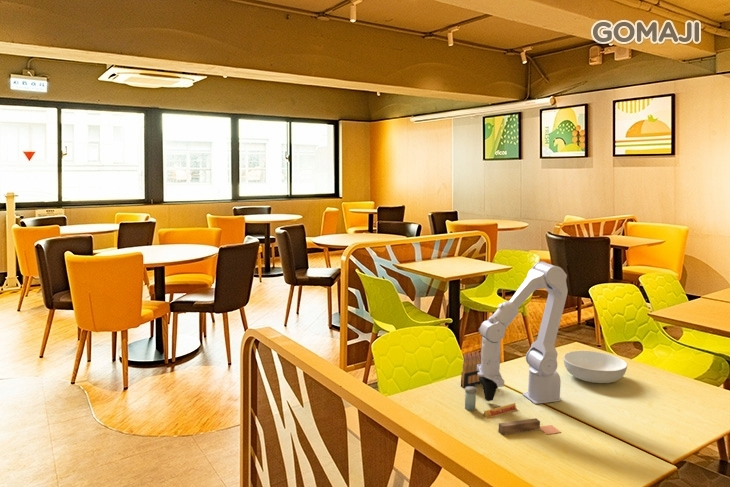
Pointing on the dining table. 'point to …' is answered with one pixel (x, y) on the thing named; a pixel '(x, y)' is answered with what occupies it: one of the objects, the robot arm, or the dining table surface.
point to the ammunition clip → (470, 370)
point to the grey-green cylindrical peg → (470, 398)
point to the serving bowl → (594, 366)
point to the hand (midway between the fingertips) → (489, 400)
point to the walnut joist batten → (519, 426)
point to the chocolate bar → (499, 410)
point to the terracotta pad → (549, 429)
